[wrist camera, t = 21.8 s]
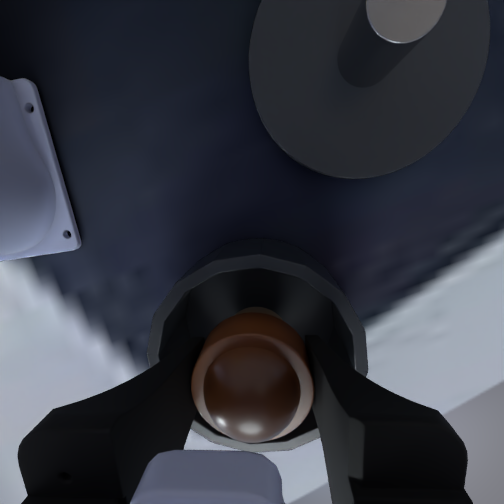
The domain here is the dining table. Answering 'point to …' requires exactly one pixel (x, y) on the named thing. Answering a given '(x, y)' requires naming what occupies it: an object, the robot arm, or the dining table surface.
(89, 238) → the dining table surface
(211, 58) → the dining table surface
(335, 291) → the pot
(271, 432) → the mushroom
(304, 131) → the lid
